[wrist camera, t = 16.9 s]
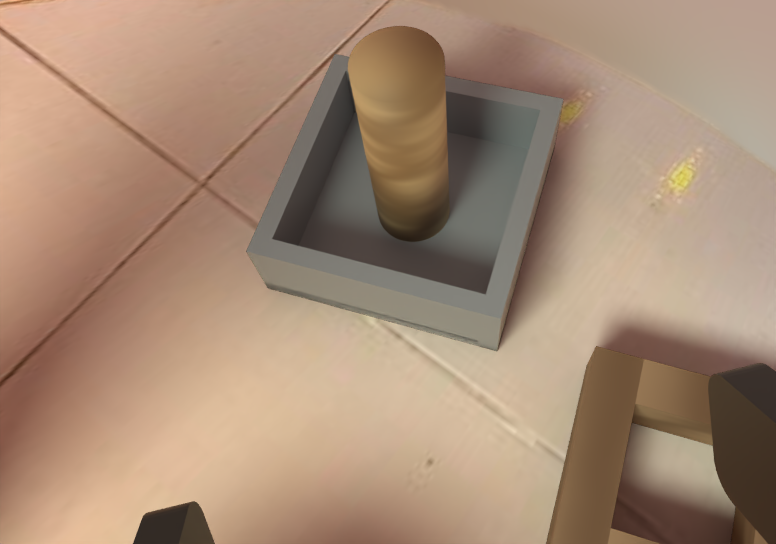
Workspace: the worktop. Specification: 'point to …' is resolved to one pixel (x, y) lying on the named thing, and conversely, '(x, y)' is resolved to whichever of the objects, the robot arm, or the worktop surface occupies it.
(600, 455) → the socket block
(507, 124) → the tray
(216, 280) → the worktop surface
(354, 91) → the dowel
